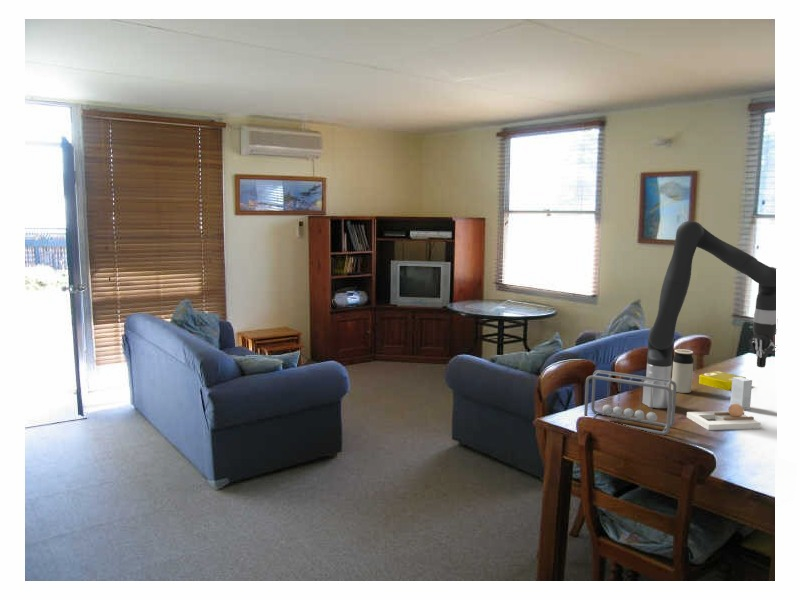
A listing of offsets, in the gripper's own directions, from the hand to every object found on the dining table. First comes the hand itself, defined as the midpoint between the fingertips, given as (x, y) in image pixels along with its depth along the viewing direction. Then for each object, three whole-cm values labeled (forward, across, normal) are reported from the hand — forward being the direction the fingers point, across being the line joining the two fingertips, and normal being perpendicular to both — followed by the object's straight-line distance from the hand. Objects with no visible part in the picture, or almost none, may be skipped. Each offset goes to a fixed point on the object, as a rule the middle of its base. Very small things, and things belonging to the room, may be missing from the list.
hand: (760, 366), depth 228 cm
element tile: (+22, -47, +18) cm, 54 cm away
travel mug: (+21, -39, -7) cm, 45 cm away
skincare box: (+21, -15, +4) cm, 26 cm away
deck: (+21, +1, -14) cm, 25 cm away
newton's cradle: (+21, -2, -50) cm, 54 cm away
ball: (+16, +1, -9) cm, 19 cm away
